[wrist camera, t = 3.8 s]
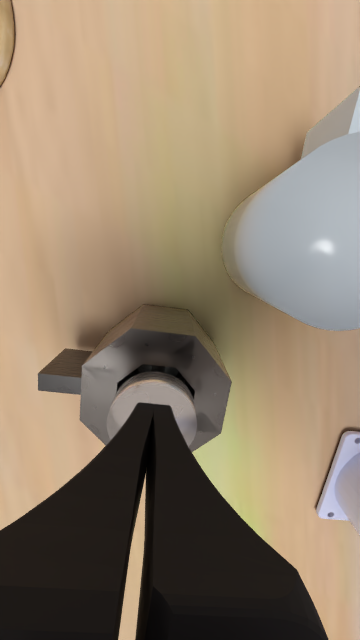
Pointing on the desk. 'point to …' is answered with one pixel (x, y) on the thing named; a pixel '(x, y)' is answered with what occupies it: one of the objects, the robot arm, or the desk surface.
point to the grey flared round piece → (154, 399)
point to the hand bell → (6, 37)
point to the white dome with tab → (306, 229)
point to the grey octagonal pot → (152, 349)
